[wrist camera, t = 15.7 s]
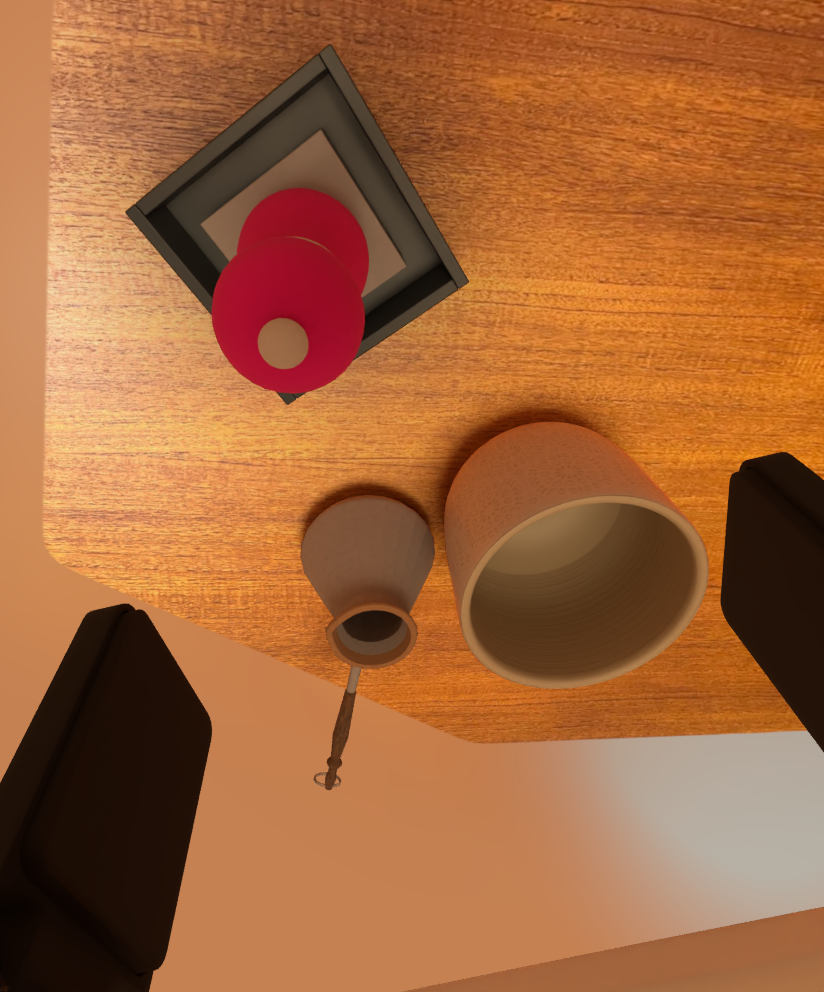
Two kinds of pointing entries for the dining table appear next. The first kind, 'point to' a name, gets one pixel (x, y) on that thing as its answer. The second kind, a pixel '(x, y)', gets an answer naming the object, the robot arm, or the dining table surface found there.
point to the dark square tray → (263, 143)
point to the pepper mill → (293, 292)
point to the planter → (567, 558)
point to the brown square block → (318, 171)
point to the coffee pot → (366, 589)
